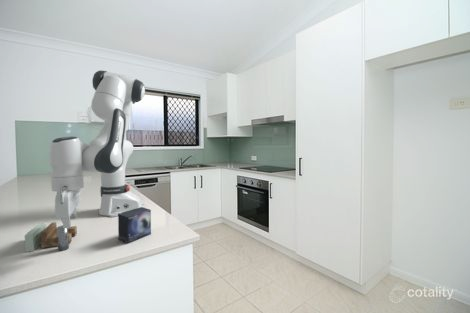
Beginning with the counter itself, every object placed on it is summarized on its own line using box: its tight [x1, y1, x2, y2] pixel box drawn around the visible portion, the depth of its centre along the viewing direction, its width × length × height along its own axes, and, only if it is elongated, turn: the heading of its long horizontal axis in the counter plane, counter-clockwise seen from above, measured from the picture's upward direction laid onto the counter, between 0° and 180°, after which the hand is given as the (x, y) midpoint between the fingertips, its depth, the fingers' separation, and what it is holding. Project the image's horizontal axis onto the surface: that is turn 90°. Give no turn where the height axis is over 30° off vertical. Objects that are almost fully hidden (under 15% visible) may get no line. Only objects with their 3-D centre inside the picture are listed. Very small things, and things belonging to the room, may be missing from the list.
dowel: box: [57, 224, 70, 252], centre depth 77 cm, size 3×3×8 cm
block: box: [41, 221, 78, 249], centre depth 83 cm, size 8×10×6 cm
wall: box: [24, 221, 47, 253], centre depth 80 cm, size 2×12×6 cm, turn 23°
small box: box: [117, 207, 152, 244], centre depth 87 cm, size 11×6×10 cm, turn 148°
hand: (70, 223), depth 77 cm, fingers open, 8 cm apart
